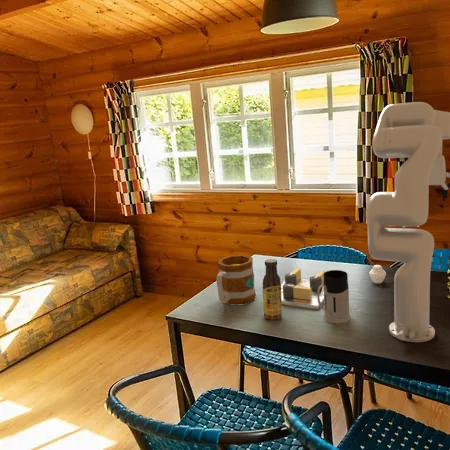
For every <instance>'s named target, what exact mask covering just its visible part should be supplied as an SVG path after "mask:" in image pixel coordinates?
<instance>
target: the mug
mask: <svg viewBox="0 0 450 450" xmlns="http://www.w3.org/2000/svg"><path fill="white" fill-rule="evenodd" d="M253 258H254V257H252V256H249V255H245V254H238V255H236V254H231V255H228V256H224V257H222V258H219V259H218V262H217V267H218V271H219V272H218V274H217V275H216V286H217V293H218V300H219V302H220V303H222V304H226V303H228V304H245V305H246V303H247V304H249V303H248V302H250V303H252V302H254V300H255V301H256V297H255V296H256V289H255V273H254V266H253V265H254V264H253V262H254V261H253V260H254V259H253ZM251 301H252V302H251ZM228 304H227V305H228Z"/></svg>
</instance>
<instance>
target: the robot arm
mask: <svg viewBox="0 0 450 450" xmlns="http://www.w3.org/2000/svg"><path fill="white" fill-rule="evenodd" d="M374 130H375V131H374V133H373V138H372V151H373V153H374V155H375V156H376V157H378V158H380V159H396V158H397V159H400V158H402V159H403V158H407V159H406V161H404V162H403V163H402V164H401V166H400V167H399V168H398V170H397V171H396V172H395V173H394V191H378V192H375V193H372V195H370V197H369V198H368V202H367V207H366V227H367V228H366V229H367V247H368V253H369V255H370V257H371V259H374V260H378V261H384V262H385V261H387V262H388V261H389V262H398V263H403V264H402V265H400V267H399V268H398V269H397V270H396V271H395V274H394V278H393V280H394V281H393V282H394V283H393V285H394V286H393V288H394V290H393V293H394V297H393V299H394V300H393V301H394V304H393V305H394V306H393V307H394V309H393V310H394V311H393V313H394V315H393V316H394V319H393V320H394V321H393V322H391V323H390V324H389V325H388V331H389V334H390V335H391V336H392V337H394V338H395V339H397V340H399V341H403V342H408V343H425V342H429V341H431V340H432V339H434V338H435V336H436V330H435V328H434V326H432V325H431V324H430V303H431V302H430V300H431V299H430V297H431V296H430V293H431V291H430V290H431V269H432V261H433V260H432V259H433V254H434V248H435V239H434V236H433V234H432V233H430V232H429V231H427V230H425V229H421V228H419V229H418V228H409V227H419V226H422V225H424V224H425V223H427V220H428V218H429V207H430V206H429V205H430V204H429V200H430V199H429V196H430V195H429V194H430V193H429V191H430V189H429V186H441V187H442V188H443V190H442V201H443V202H446V200H447V199H448V198H449V197H448V196H449V189H450V182H449V183H447V182H446V180H447V178H449V179H450V172H447V171H446V170H447V168H446V167H447V166H446V159H445V156H444V155H443V140H450V112H449V111H444V110H437V109H434V107H432V105H430V104H429V103H427V102H424V101H413V102H412V101H411V102H402V103H401V102H400V103H392V104H388V105H386V106H385V107H384V108H383V110H382V111H381V113H380V115H379V117H378V120H377V124H376V127H375V129H374ZM398 227H400V228H398ZM403 227H405V228H403ZM407 227H408V228H407Z"/></svg>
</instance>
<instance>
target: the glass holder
mask: <svg viewBox="0 0 450 450" xmlns="http://www.w3.org/2000/svg"><path fill="white" fill-rule="evenodd" d="M348 275H349V274H348V272H347V271H344V270H341V269H340V270H339V269H332V270H328V271H327V270H326V271H325V273H324V285H320V286H319V288H318V290H317V299H318V303H319V306H320V308H319V309H322V310H323V312H324V314H323V320H324V321H326V322H328V323H332V324H344V323H347V322H349V321H350V320H351V319H352V316H351V314H350V296H349V295H350V293H349V292H350V290H349V289H350V288H349V281H348ZM322 286H324V303H323V304H324V305H323V304H322V305H321V303H320V297H319V292H320V289H321V287H322Z"/></svg>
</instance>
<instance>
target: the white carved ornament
mask: <svg viewBox="0 0 450 450" xmlns="http://www.w3.org/2000/svg"><path fill="white" fill-rule="evenodd" d="M368 275H369V277H370V279H371V281H372V282H373V284H382V283H383V281H384V280H385V278H386V275H387V272H386V271H385V270H384V268H383V266H382V265H380V264H374V265H373V266H372V268H371V270H370V271H369V272H368Z"/></svg>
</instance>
